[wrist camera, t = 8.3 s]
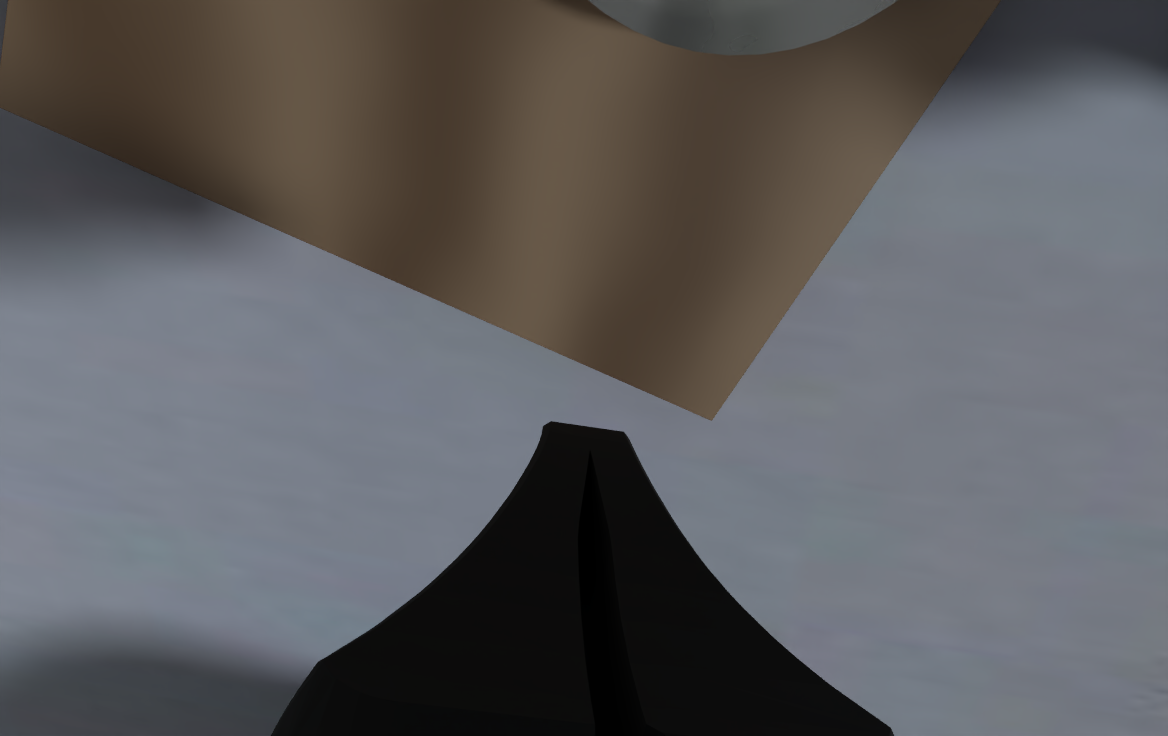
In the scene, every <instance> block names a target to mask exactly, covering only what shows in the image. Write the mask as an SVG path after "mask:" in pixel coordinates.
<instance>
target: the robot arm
mask: <svg viewBox="0 0 1168 736" xmlns="http://www.w3.org/2000/svg"><path fill="white" fill-rule="evenodd" d="M271 736H894V734H893V732H892V730H891V728H890V727H889V726H887V725H886V724H885V723H883V722H882V721H880V720H879V719H878V718H876V717H875V716H873V715H872V714H870V713H869V712H868V711H866V710H865V709H863V708H862V707H861V706H859V705H858V704H856V703H855V702H853V701H852V700H851V699H849V698H848V697H846V696H845V695H844V694H842V693H841V692H839V691H838V690H836V689H835V688H834V687H832V686H831V685H830V684H828V683H827V682H826V681H824V680H823V679H822V678H821V677H820V676H818V675H817V674H816V673H815V672H813V671H812V670H811V669H810V668H808V667H807V666H806V665H805V664H804V663H802V662H801V661H800V660H799V659H797V658H796V657H795V656H794V655H793V654H791V653H790V652H789V651H788V650H787V649H786V648H785V647H784V646H782V645H781V644H780V643H779V642H778V641H777V640H776V639H775V638H773V637H772V636H771V635H770V634H769V633H768V632H767V631H766V630H765V629H764V628H763V627H762V626H761V625H760V624H759V623H758V622H757V621H756V620H755V619H754V618H753V617H752V616H751V615H750V614H749V613H748V612H747V611H746V610H745V609H744V608H743V607H742V606H741V605H740V604H739V603H738V602H737V601H736V600H735V599H734V598H733V597H732V596H731V595H730V594H729V592H728V591H727V590H726V589H725V588H724V587H723V586H722V584H721V583H720V582H719V581H718V580H717V579H716V577H715V576H714V575H713V574H712V573H711V572H710V570H709V569H708V568H707V567H706V565H705V564H704V563H703V561H702V560H701V559H700V557H699V556H698V555H697V554H696V552H695V551H694V549H693V548H692V546H691V545H690V544H689V542H688V541H687V539H686V538H685V537H684V535H683V534H682V532H681V531H680V529H679V528H678V526H677V525H676V523H675V522H674V520H673V519H672V517H671V515H670V514H669V512H668V510H667V509H666V507H665V506H664V504H663V502H662V501H661V499H660V497H659V496H658V494H657V492H656V491H655V489H654V487H653V485H652V483H651V482H650V480H649V478H648V476H647V474H646V472H645V470H644V469H643V467H642V465H641V463H640V461H639V459H638V457H637V455H636V453H635V451H634V448H633V446H632V444H631V442H630V440H629V438H628V437H627V435H626V434H625V433H624V432H621V431H614V430H607V429H600V428H594V427H587V426H580V425H573V424H566V423H559V422H552V421H551V422H549V423H547V424H546V425H544V426H543V430H542V435H541V438H540V441H539V443H538V446H537V448H536V450H535V453H534V455H533V456H532V458H531V460H530V462H529V464H528V466H527V468H526V469H525V471H524V473H523V474H522V476H521V477H520V479H519V481H518V482H517V484H516V486H515V487H514V489H513V490H512V492H511V493H510V495H509V496H508V498H507V499H506V500H505V502H504V503H503V504H502V506H501V507H500V508H499V510H498V511H497V512H496V514H495V515H494V516H493V518H492V519H491V520H490V522H489V523H488V524H487V525H486V526H485V528H484V529H483V530H482V531H481V532H480V534H479V535H478V536H477V537H476V538H475V539H474V540H473V542H472V543H471V544H470V545H469V546H468V547H467V548H466V549H465V550H464V551H463V552H462V553H461V554H460V555H459V556H458V558H457V559H455V560H454V561H453V562H452V563H451V564H450V565H449V566H448V567H447V568H446V569H445V570H444V571H443V572H442V573H441V574H440V575H439V576H438V577H437V578H436V579H434V580H433V581H432V582H431V583H430V584H429V585H428V586H427V587H425V588H424V589H423V590H422V591H421V592H419V593H418V594H417V595H416V596H414V597H413V598H412V599H411V600H409V601H408V602H407V603H405V604H404V605H403V606H401V607H400V608H399V609H397V610H396V611H395V612H394V613H392V614H391V615H390V616H388V617H387V618H386V619H384V620H383V621H382V622H380V623H379V624H378V625H376V626H375V627H373V628H372V629H370V630H369V631H367V632H366V633H364V634H363V635H361V636H359V637H358V638H356V639H355V640H353V641H351V642H350V643H348V644H347V645H345V646H343V647H342V648H340V649H338V650H337V651H335V652H334V653H332V654H330V655H329V656H327V657H326V658H324V659H322V660H320V661H319V662H318V663H317V664H316V665H315V667H314V668H313V669H312V671H311V672H310V674H309V675H308V677H307V678H306V679H305V681H304V682H303V684H302V685H301V687H300V688H299V689H298V691H297V692H296V694H295V696H294V697H293V699H292V700H291V702H290V703H289V705H288V706H287V708H286V710H285V711H284V713H283V715H282V716H281V718H280V720H279V722H278V724H277V725H276V727H275V729H274V731H273V733H272V735H271Z"/></svg>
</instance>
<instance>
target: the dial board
mask: <svg viewBox="0 0 1168 736" xmlns="http://www.w3.org/2000/svg"><path fill="white" fill-rule="evenodd" d="M1000 1H1001V0H897V1H896V2H895V3H894V4H892V5H891V6H889V7H887V8H886V9H884V10H882V11H881V12H879V13H877V14H876V15H874V16H872V17H871V18H869V19H867V20H866V21H864V22H862V23H861V24H859V25H857V26H854V27H852V28H850V29H848V30H846V31H843V32H841V33H839V34H837V35H834V36H832V37H830V38H828V39H825V40H821V41H818V42H815V43H812V44H808V45H805V46H802V47H799V48H795V49H790V50H784V51H778V52H772V53H766V54H756V55H721V54H712V53H703V52H695V51H691V50H687V49H683V48H680V47H676V46H672V45H668V44H664V43H662V42H659V41H657V40H655V39H652V38H650V37H647V36H645V35H643V34H640V33H638V32H635V31H633V30H632V29H630V28H628V27H627V26H625V25H623V24H622V23H620V22H618V21H616V20H615V19H613V18H611V17H610V16H608V15H606V14H605V13H603V12H602V11H601V10H600V9H598V8H597V7H596V6H595V5H593V4H592V3H591V2H590V1H588V0H8V5H7V14H6V22H5V30H4V38H3V46H2V55H1V63H0V108H2V109H4V110H7V111H9V112H11V113H13V114H16V115H18V116H20V117H22V118H25V119H27V120H29V121H32V122H34V123H36V124H38V125H41V126H43V127H45V128H47V129H50V130H52V131H54V132H57V133H59V134H61V135H63V136H66V137H68V138H70V139H72V140H75V141H77V142H79V143H82V144H84V145H86V146H88V147H91V148H93V149H95V150H97V151H100V152H102V153H104V154H107V155H109V156H111V157H113V158H116V159H118V160H120V161H122V162H125V163H127V164H129V165H132V166H134V167H136V168H138V169H141V170H143V171H145V172H147V173H150V174H152V175H154V176H157V177H159V178H161V179H163V180H166V181H168V182H170V183H172V184H175V185H177V186H179V187H181V188H184V189H186V190H188V191H191V192H193V193H195V194H197V195H200V196H202V197H204V198H206V199H209V200H211V201H213V202H216V203H218V204H220V205H222V206H225V207H227V208H229V209H231V210H234V211H236V212H238V213H241V214H243V215H245V216H247V217H250V218H252V219H254V220H256V221H259V222H261V223H263V224H266V225H268V226H270V227H272V228H275V229H277V230H279V231H281V232H284V233H286V234H288V235H291V236H293V237H295V238H297V239H300V240H302V241H304V242H306V243H309V244H311V245H313V246H316V247H318V248H320V249H322V250H325V251H327V252H329V253H331V254H334V255H336V256H338V257H341V258H343V259H345V260H347V261H350V262H352V263H354V264H356V265H359V266H361V267H363V268H366V269H368V270H370V271H372V272H375V273H377V274H379V275H381V276H384V277H386V278H388V279H391V280H393V281H395V282H397V283H400V284H402V285H404V286H406V287H409V288H411V289H413V290H416V291H418V292H420V293H422V294H425V295H427V296H429V297H431V298H434V299H436V300H438V301H441V302H443V303H445V304H447V305H450V306H452V307H454V308H456V309H459V310H461V311H463V312H466V313H468V314H470V315H472V316H475V317H477V318H479V319H481V320H484V321H486V322H488V323H491V324H493V325H495V326H497V327H500V328H502V329H504V330H506V331H509V332H511V333H513V334H516V335H518V336H520V337H522V338H525V339H527V340H529V341H531V342H534V343H536V344H538V345H541V346H543V347H545V348H547V349H550V350H552V351H554V352H556V353H559V354H561V355H563V356H566V357H568V358H570V359H572V360H575V361H577V362H579V363H581V364H584V365H586V366H588V367H591V368H593V369H595V370H597V371H600V372H602V373H604V374H606V375H609V376H611V377H613V378H616V379H618V380H620V381H622V382H625V383H627V384H629V385H631V386H634V387H636V388H638V389H641V390H643V391H645V392H647V393H650V394H652V395H654V396H656V397H659V398H661V399H663V400H665V401H668V402H670V403H672V404H675V405H677V406H679V407H681V408H684V409H686V410H688V411H690V412H693V413H695V414H697V415H700V416H702V417H704V418H706V419H709V420H711V421H712V420H713V418H714V417H715V415H716V414H717V412H718V411H719V409H720V408H721V407H722V405H723V404H724V402H725V401H726V399H727V398H728V396H729V395H730V393H731V392H732V391H733V389H734V388H735V386H736V385H737V383H738V382H739V380H740V379H741V377H742V376H743V375H744V373H745V372H746V370H747V369H748V367H749V366H750V364H751V363H752V361H753V360H754V359H755V357H756V356H757V354H758V353H759V351H760V350H761V348H762V347H763V346H764V344H765V343H766V341H767V340H768V338H769V337H770V335H771V334H772V332H773V331H774V330H775V328H776V327H777V325H778V324H779V322H780V321H781V319H782V318H783V316H784V315H785V314H786V312H787V311H788V309H789V308H790V306H791V305H792V303H793V302H794V300H795V299H796V298H797V296H798V295H799V293H800V292H801V290H802V289H803V287H804V286H805V284H806V283H807V282H808V280H809V279H810V277H811V276H812V274H813V273H814V271H815V270H816V268H817V267H818V266H819V264H820V263H821V261H822V260H823V258H824V257H825V255H826V254H827V252H828V251H829V250H830V248H831V247H832V245H833V244H834V242H835V241H836V239H837V238H838V237H839V235H840V234H841V232H842V231H843V229H844V228H845V226H846V225H847V223H848V222H849V221H850V219H851V218H852V216H853V215H854V213H855V212H856V210H857V209H858V207H859V206H860V205H861V203H862V202H863V200H864V199H865V197H866V196H867V194H868V193H869V191H870V190H871V189H872V187H873V186H874V184H875V183H876V181H877V180H878V178H879V177H880V175H881V174H882V173H883V171H884V170H885V168H886V167H887V165H888V164H889V162H890V161H891V159H892V158H893V157H894V155H895V154H896V152H897V151H898V149H899V148H900V146H901V145H902V144H903V142H904V141H905V139H906V138H907V136H908V135H909V133H910V132H911V130H912V129H913V128H914V126H915V125H916V123H917V122H918V120H919V119H920V117H921V116H922V114H923V113H924V112H925V110H926V109H927V107H928V106H929V104H930V103H931V101H932V100H933V98H934V97H935V96H936V94H937V93H938V91H939V90H940V88H941V87H942V85H943V84H944V82H945V81H946V80H947V78H948V77H949V75H950V74H951V72H952V71H953V69H954V68H955V66H956V65H957V64H958V62H959V61H960V59H961V58H962V56H963V55H964V53H965V52H966V50H967V49H968V48H969V46H970V45H971V43H972V42H973V40H974V39H975V37H976V36H977V35H978V33H979V32H980V30H981V29H982V27H983V26H984V24H985V23H986V21H987V20H988V19H989V17H990V16H991V14H992V13H993V11H994V10H995V8H996V7H997V5H998V4H999V3H1000Z"/></svg>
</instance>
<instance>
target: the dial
mask: <svg viewBox="0 0 1168 736" xmlns="http://www.w3.org/2000/svg"><path fill="white" fill-rule="evenodd" d="M588 1H590V2H591V3H592V4H593V5H595V6H596V7H597V8H598V9H600V10H601V11H602V12H603V13H605V14H606V15H608V16H610V17H611V18H613V19H615V20H616V21H618V22H620V23H622V24H623V25H625V26H627V27H628V28H630V29H632V30H633V31H635V32H638V33H640V34H643V35H645V36H647V37H650V38H652V39H655V40H657V41H659V42H662V43H664V44H668V45H672V46H676V47H680V48H683V49H687V50H691V51H695V52H703V53H712V54H721V55H756V54H766V53H772V52H778V51H784V50H790V49H795V48H799V47H802V46H805V45H808V44H812V43H815V42H818V41H821V40H825V39H828V38H830V37H832V36H834V35H837V34H839V33H841V32H843V31H846V30H848V29H850V28H852V27H854V26H857V25H859V24H861V23H862V22H864V21H866V20H867V19H869V18H871V17H872V16H874V15H876V14H877V13H879V12H881V11H882V10H884V9H886V8H887V7H889V6H891V5H892V4H894V3H895V2H896V1H897V0H588Z"/></svg>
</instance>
